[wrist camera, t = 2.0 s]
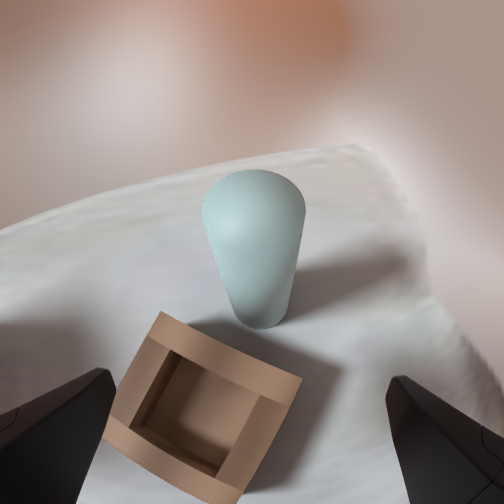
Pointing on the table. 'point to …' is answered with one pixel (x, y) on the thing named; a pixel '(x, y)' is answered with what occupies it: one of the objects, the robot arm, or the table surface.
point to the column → (255, 242)
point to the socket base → (198, 411)
